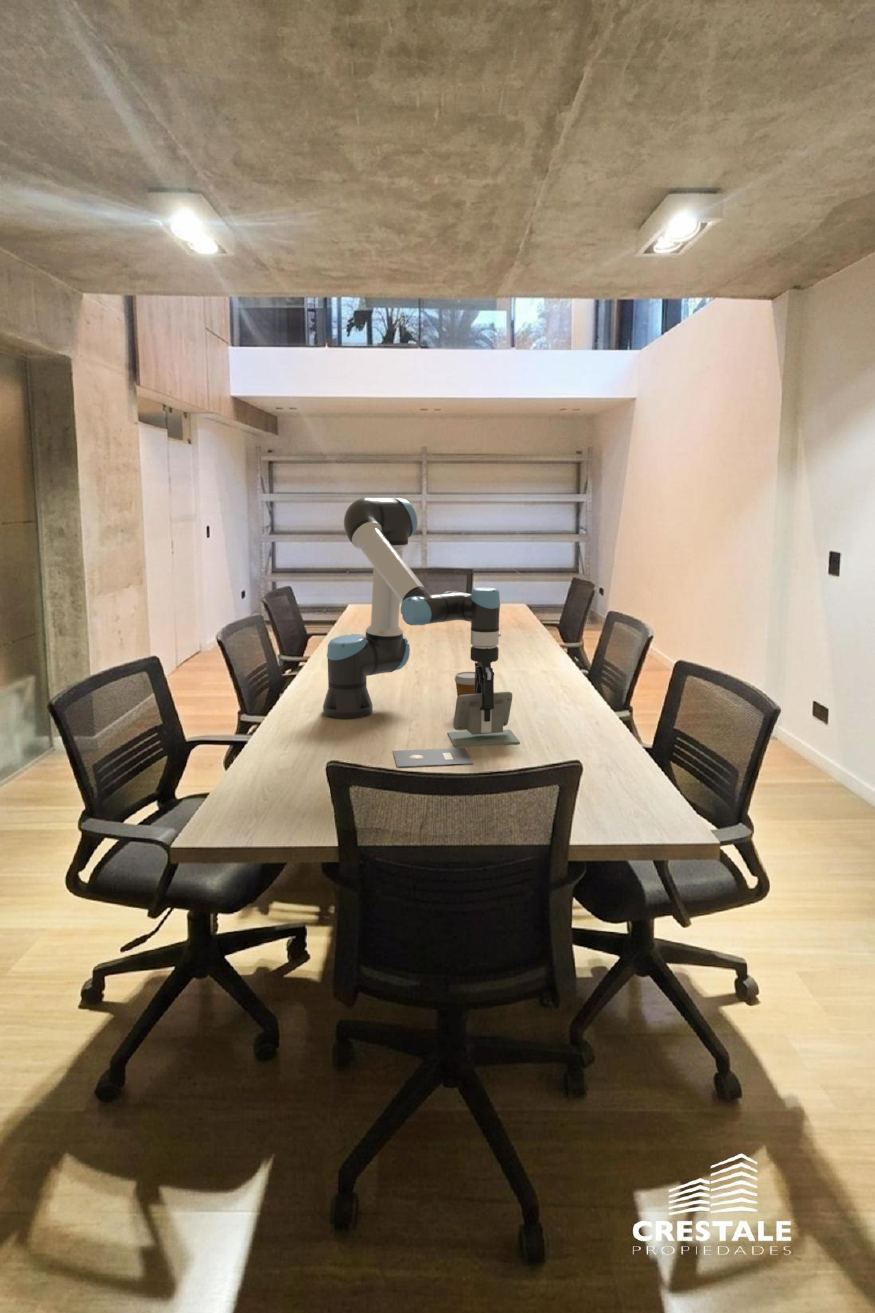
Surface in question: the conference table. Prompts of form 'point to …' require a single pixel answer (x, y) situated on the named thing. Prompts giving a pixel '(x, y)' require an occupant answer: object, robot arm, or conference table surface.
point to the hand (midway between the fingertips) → (483, 727)
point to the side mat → (482, 738)
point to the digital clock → (471, 713)
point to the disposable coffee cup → (465, 683)
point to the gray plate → (431, 757)
